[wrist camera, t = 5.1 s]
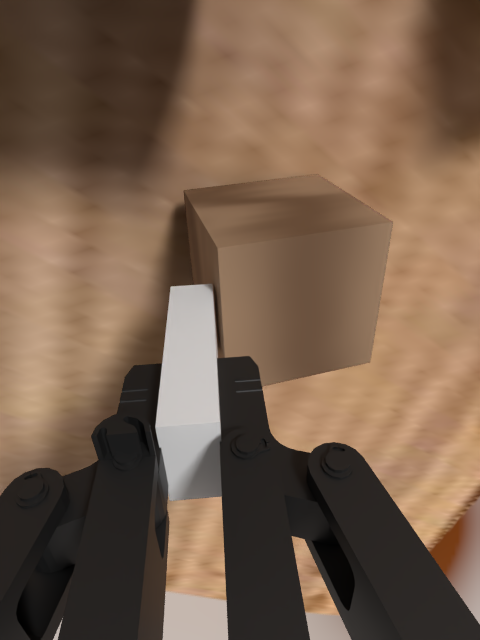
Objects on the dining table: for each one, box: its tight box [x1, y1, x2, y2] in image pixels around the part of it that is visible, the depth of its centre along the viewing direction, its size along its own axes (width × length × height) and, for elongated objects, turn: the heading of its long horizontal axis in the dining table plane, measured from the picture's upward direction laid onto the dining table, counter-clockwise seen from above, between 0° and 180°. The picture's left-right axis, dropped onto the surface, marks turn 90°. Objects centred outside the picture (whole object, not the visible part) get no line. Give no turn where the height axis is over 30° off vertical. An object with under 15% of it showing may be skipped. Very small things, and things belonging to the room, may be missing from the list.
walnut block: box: [184, 174, 393, 386], centre depth 18 cm, size 6×6×6 cm
